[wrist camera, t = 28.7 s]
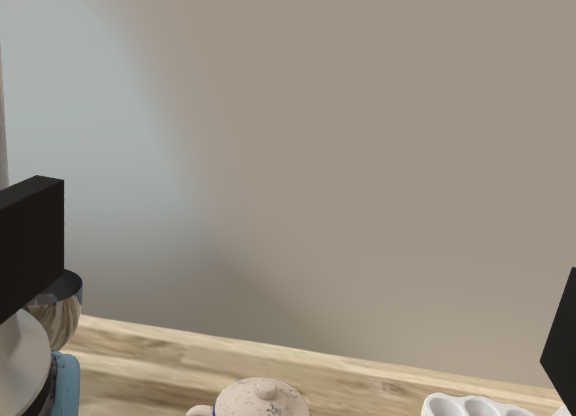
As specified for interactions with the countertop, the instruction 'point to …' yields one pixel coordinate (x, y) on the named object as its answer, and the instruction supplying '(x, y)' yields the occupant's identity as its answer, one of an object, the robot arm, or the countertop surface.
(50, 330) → the wine glass
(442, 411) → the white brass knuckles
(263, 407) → the teacup with lid
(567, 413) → the milk
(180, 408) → the countertop surface
